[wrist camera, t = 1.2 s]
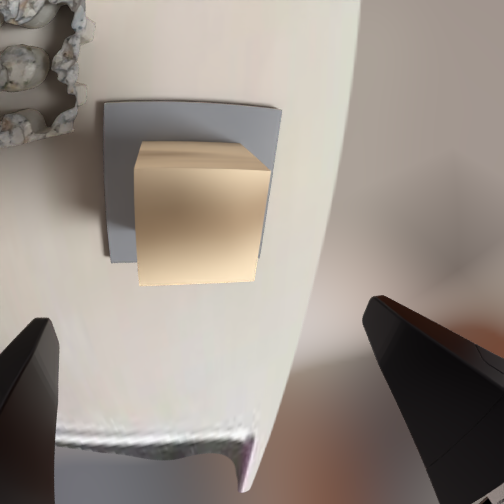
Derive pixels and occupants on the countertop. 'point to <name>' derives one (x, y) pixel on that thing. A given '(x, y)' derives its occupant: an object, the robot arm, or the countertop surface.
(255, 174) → the maple block
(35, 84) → the egg carton
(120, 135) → the tile
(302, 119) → the countertop surface
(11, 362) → the robot arm
